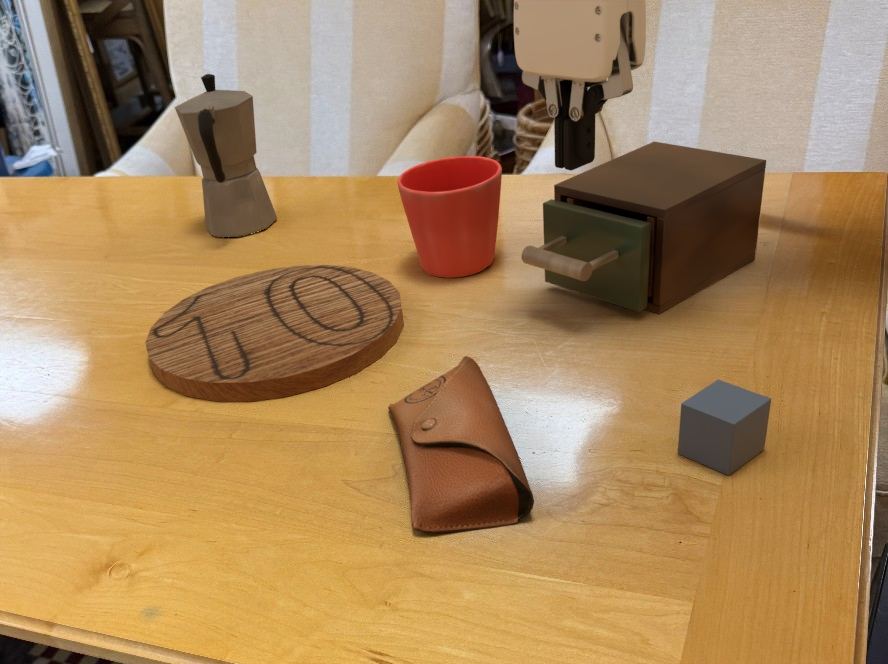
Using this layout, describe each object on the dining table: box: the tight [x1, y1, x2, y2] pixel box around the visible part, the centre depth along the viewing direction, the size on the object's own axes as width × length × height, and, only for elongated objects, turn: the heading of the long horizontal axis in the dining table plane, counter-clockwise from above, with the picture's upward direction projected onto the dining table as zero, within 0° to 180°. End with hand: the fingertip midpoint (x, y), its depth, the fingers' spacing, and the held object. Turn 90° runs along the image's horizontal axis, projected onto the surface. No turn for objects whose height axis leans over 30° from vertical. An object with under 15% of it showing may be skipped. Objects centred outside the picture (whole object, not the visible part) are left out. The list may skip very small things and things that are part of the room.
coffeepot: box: [174, 73, 278, 239], centre depth 110 cm, size 15×9×18 cm, turn 1°
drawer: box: [521, 197, 658, 312], centre depth 85 cm, size 19×11×8 cm, turn 129°
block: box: [677, 379, 772, 476], centre depth 63 cm, size 4×4×4 cm
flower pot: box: [397, 155, 503, 279], centre depth 95 cm, size 11×11×10 cm
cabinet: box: [553, 141, 767, 315], centre depth 87 cm, size 15×13×10 cm
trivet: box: [144, 264, 405, 403], centre depth 88 cm, size 25×25×2 cm
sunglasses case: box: [387, 355, 535, 534], centre depth 67 cm, size 18×7×7 cm
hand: (574, 164), depth 77 cm, fingers closed
